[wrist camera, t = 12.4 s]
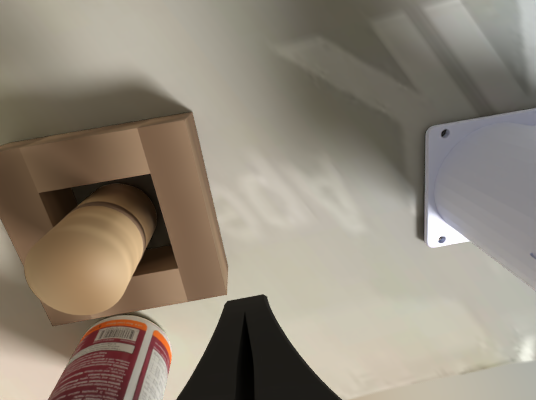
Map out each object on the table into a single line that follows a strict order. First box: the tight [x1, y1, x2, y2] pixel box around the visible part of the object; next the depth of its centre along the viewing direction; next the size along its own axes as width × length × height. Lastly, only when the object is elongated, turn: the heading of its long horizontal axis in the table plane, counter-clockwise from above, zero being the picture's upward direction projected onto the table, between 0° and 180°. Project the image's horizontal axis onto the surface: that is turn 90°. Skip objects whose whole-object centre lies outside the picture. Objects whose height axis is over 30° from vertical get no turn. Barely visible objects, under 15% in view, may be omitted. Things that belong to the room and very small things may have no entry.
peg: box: [24, 184, 157, 315], centre depth 18 cm, size 4×4×7 cm
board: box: [0, 112, 228, 326], centre depth 20 cm, size 10×10×3 cm
